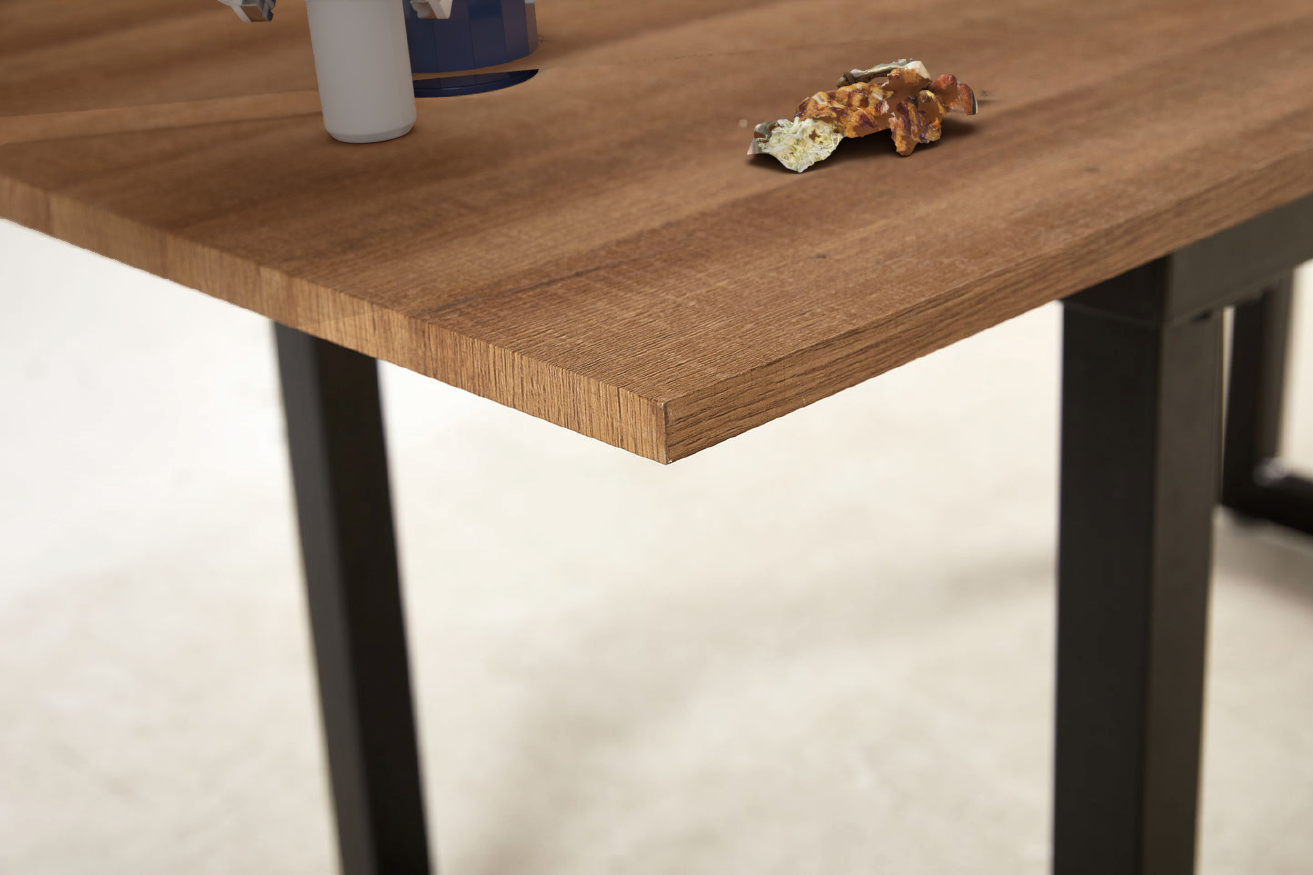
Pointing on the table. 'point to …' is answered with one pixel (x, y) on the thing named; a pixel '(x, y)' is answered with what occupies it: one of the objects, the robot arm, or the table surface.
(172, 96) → the table surface
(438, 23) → the pot
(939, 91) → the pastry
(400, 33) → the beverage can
